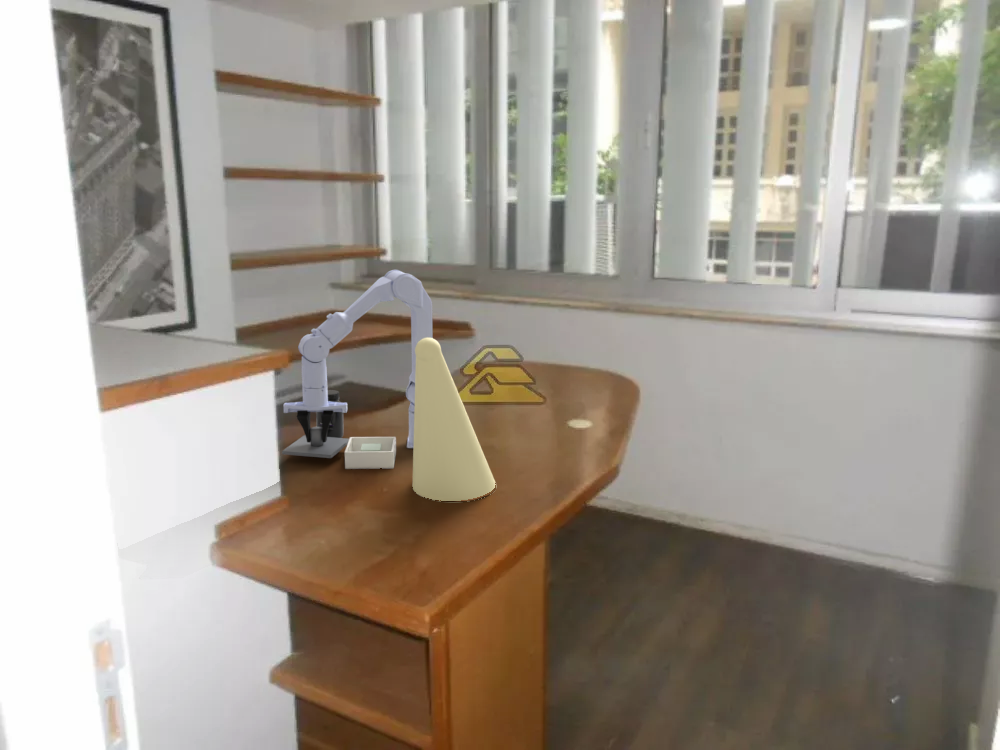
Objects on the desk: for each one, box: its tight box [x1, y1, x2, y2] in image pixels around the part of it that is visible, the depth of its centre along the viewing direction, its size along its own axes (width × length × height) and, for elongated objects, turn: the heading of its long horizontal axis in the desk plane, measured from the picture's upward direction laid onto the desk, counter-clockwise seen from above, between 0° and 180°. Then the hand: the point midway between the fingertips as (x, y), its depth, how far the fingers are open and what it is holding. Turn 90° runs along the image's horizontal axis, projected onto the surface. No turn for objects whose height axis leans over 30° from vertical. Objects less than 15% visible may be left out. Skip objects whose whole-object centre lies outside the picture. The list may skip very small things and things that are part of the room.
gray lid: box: [281, 426, 350, 459], centre depth 179 cm, size 12×12×5 cm
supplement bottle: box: [315, 389, 345, 438], centre depth 194 cm, size 7×7×12 cm
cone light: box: [412, 338, 497, 502], centre depth 157 cm, size 25×18×35 cm
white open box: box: [344, 436, 397, 470], centre depth 178 cm, size 11×11×4 cm
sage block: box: [361, 444, 382, 451], centre depth 178 cm, size 4×4×3 cm
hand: (316, 441), depth 179 cm, fingers closed on gray lid, 3 cm apart
